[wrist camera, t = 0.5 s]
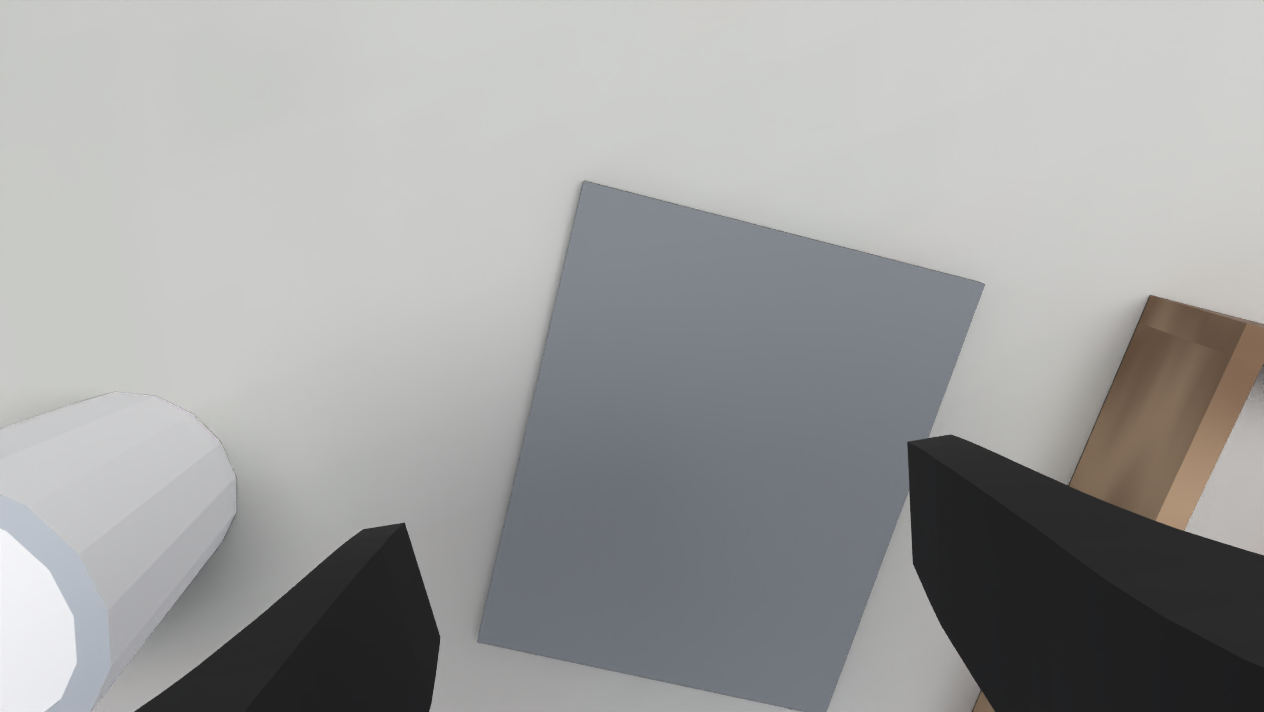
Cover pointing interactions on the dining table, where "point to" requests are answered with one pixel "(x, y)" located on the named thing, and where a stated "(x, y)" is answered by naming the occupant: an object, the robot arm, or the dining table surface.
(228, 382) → the dining table surface
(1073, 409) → the dining table surface
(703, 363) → the slate mat
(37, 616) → the shot glass
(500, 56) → the dining table surface
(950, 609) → the robot arm
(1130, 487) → the rectangular wooden frame
